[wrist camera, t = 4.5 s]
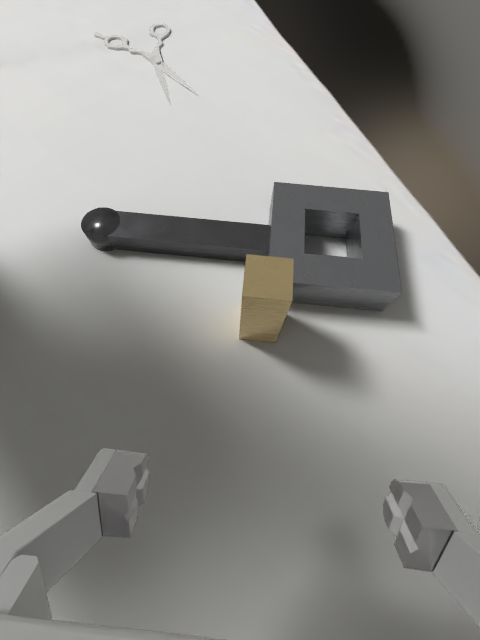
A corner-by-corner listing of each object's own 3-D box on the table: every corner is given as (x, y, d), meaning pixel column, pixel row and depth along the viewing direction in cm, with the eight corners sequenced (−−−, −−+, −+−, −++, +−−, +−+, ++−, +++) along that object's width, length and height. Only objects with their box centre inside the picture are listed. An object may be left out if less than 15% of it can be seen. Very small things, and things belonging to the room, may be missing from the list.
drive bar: (275, 342, 27) (292, 300, 19) (239, 338, 27) (242, 295, 19) (277, 309, 28) (293, 258, 20) (242, 306, 28) (246, 254, 21)
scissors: (160, 16, 47) (221, 86, 40) (161, 23, 48) (221, 92, 41) (93, 33, 45) (146, 110, 38) (96, 40, 45) (147, 116, 39)
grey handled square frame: (382, 310, 28) (401, 292, 25) (73, 281, 28) (53, 259, 25) (372, 218, 32) (388, 192, 29) (105, 193, 33) (92, 165, 30)
